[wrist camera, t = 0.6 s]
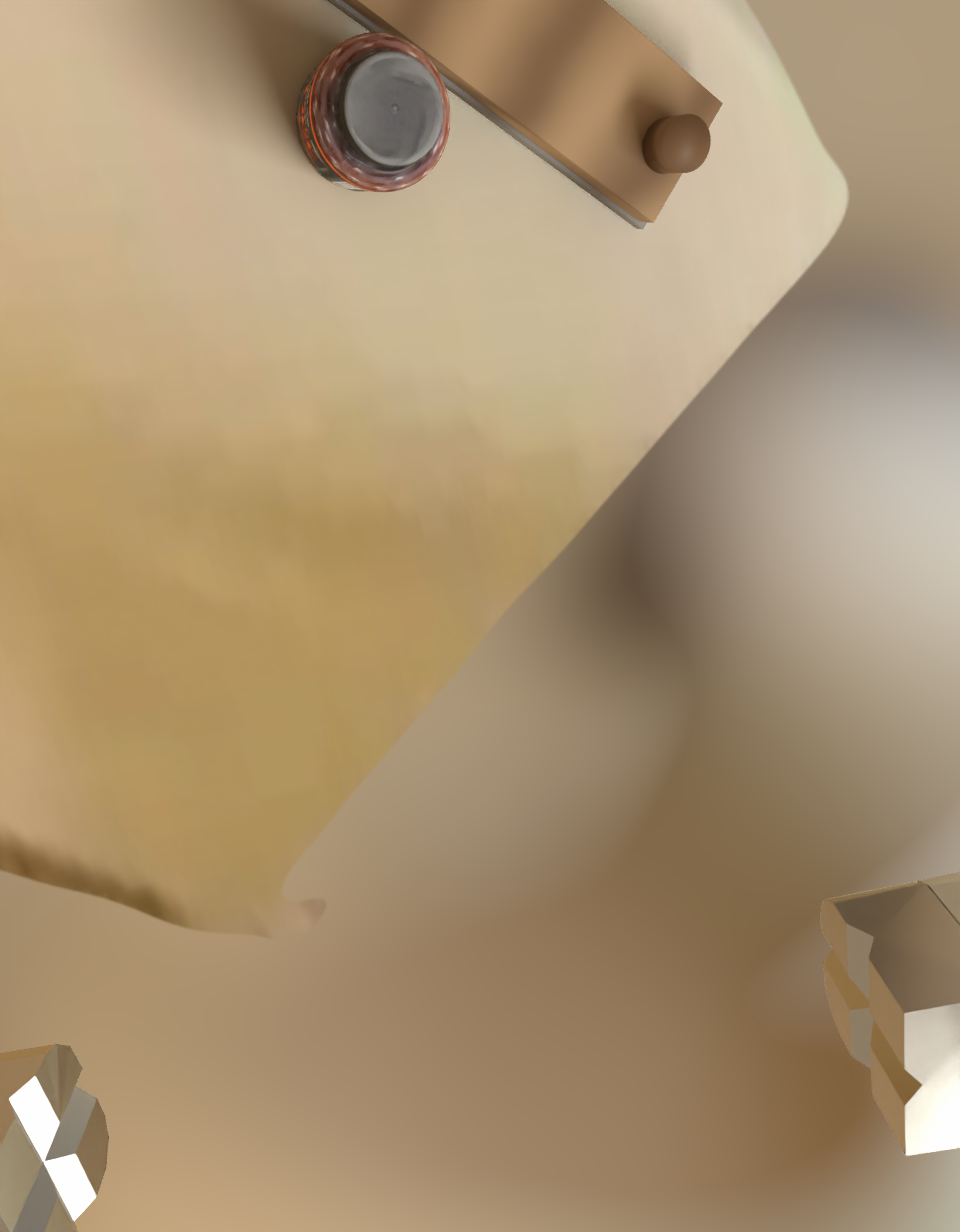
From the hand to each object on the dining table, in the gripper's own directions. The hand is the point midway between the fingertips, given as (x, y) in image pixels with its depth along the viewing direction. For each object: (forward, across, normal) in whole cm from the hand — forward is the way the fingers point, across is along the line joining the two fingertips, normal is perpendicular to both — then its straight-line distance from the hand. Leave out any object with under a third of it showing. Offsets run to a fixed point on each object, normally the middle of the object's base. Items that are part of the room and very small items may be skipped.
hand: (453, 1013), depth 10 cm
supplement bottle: (+44, +1, -14) cm, 46 cm away
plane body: (+45, -8, -16) cm, 49 cm away
